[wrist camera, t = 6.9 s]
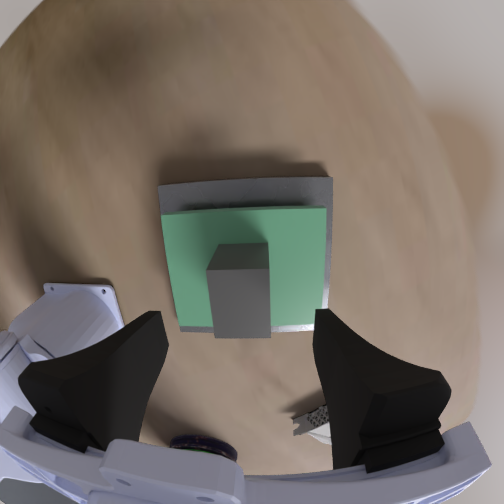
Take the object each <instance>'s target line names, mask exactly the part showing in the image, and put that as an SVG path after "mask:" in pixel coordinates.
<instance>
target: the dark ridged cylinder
mask: <svg viewBox="0 0 504 504" xmlns="http://www.w3.org/2000/svg"><path fill="white" fill-rule="evenodd" d="M170 448H174V449H181V450H189V451H197V452H205V453H210V454H215V455H221V456H223V457H225V458H228V459H230V460H233V461H234V462H236V460H237V452H236V450H235V449H234V448H233V447H232V446H231V445H229V444H227V443H225V442H223V441H221V440H218V439H215V438H211V437H207V436H202V435H180V436H176V437H174V438H173V439H172V440H171V443H170Z"/></svg>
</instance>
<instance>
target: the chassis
mask: <svg viewBox="0 0 504 504" xmlns="http://www.w3.org/2000/svg"><path fill="white" fill-rule="evenodd" d="M158 195H159V204H160V213H161V215H162V214H164V213H166V212H176V211H190V210H206V209H223V208H244V207H271V206H316V205H323V206H324V207H325V208H326V248H325V270H324V287H323V301H322V309H326V308H327V305H328V294H329V280H330V265H331V245H332V212H333V177H330V176H288V177H255V178H235V179H219V180H205V181H193V182H182V183H172V184H163V185H159V186H158ZM309 330H314V324H308V325H287V326H271V332H290V331H309ZM180 331H181V332H208V333H214V328H213V327H206V326H180Z"/></svg>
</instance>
